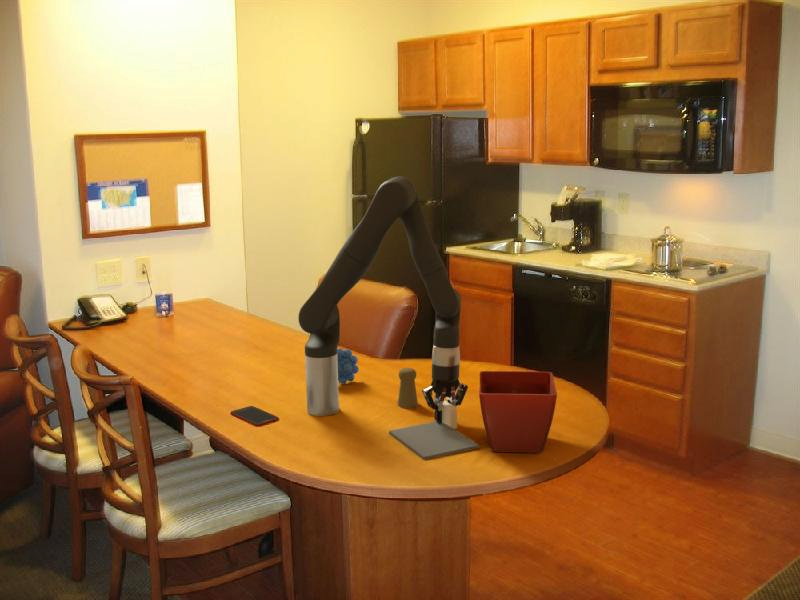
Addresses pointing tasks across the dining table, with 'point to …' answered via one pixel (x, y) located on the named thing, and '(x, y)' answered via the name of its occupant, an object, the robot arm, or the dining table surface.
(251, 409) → the cell phone
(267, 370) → the dining table surface
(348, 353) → the grapes
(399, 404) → the cork
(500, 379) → the plant pot
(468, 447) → the mat
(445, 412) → the card box
